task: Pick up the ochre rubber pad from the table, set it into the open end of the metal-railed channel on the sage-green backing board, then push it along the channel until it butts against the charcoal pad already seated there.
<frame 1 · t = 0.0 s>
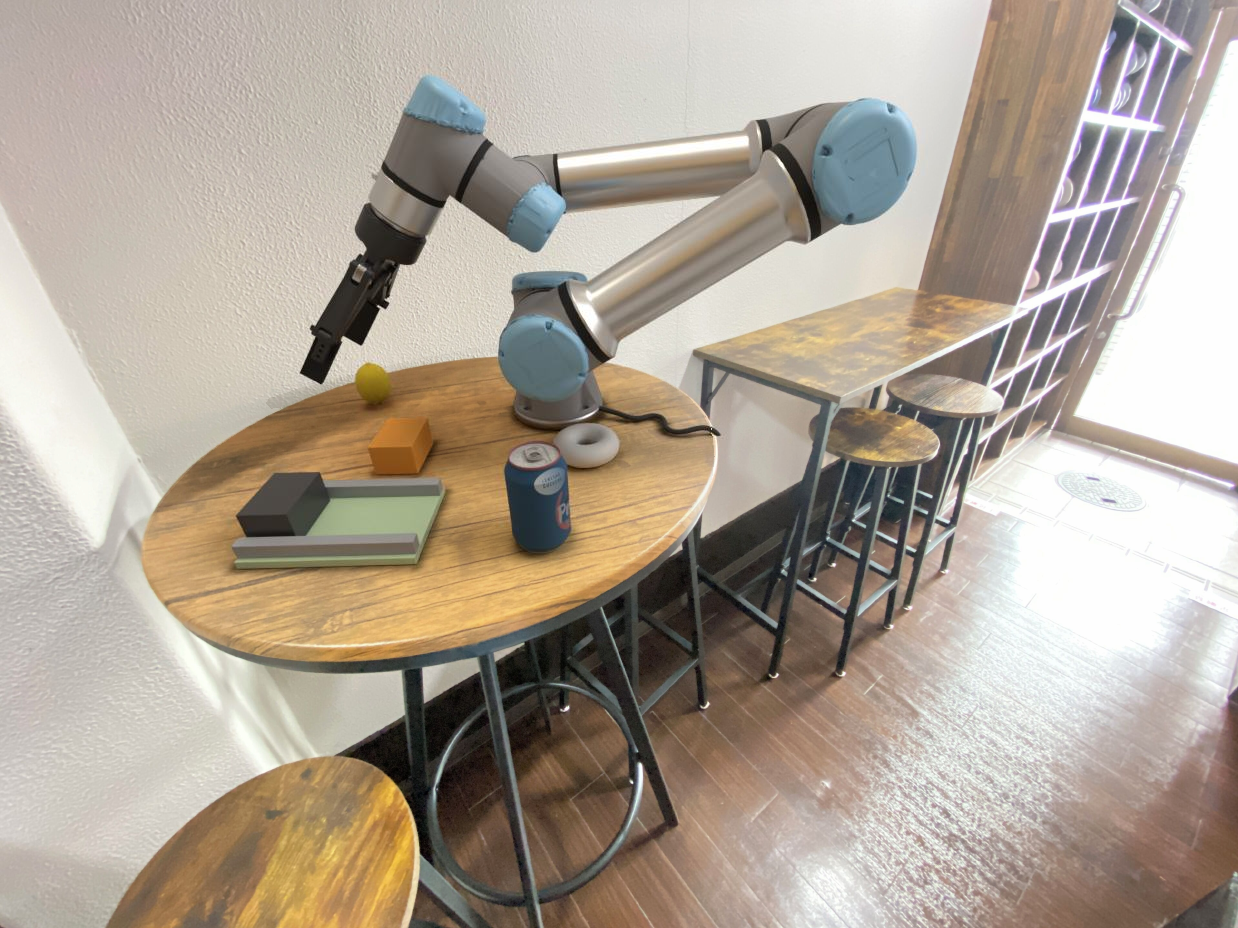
hand: (333, 357, 73), 15 cm above the table, tool tilted 35°, fingers open, 13 cm apart
ochre pad: (405, 457, 80), on the table
soda can: (543, 539, 64), on the table
donut: (586, 455, 81), on the table
backing board: (351, 526, 66), on the table
lemon: (379, 406, 95), on the table
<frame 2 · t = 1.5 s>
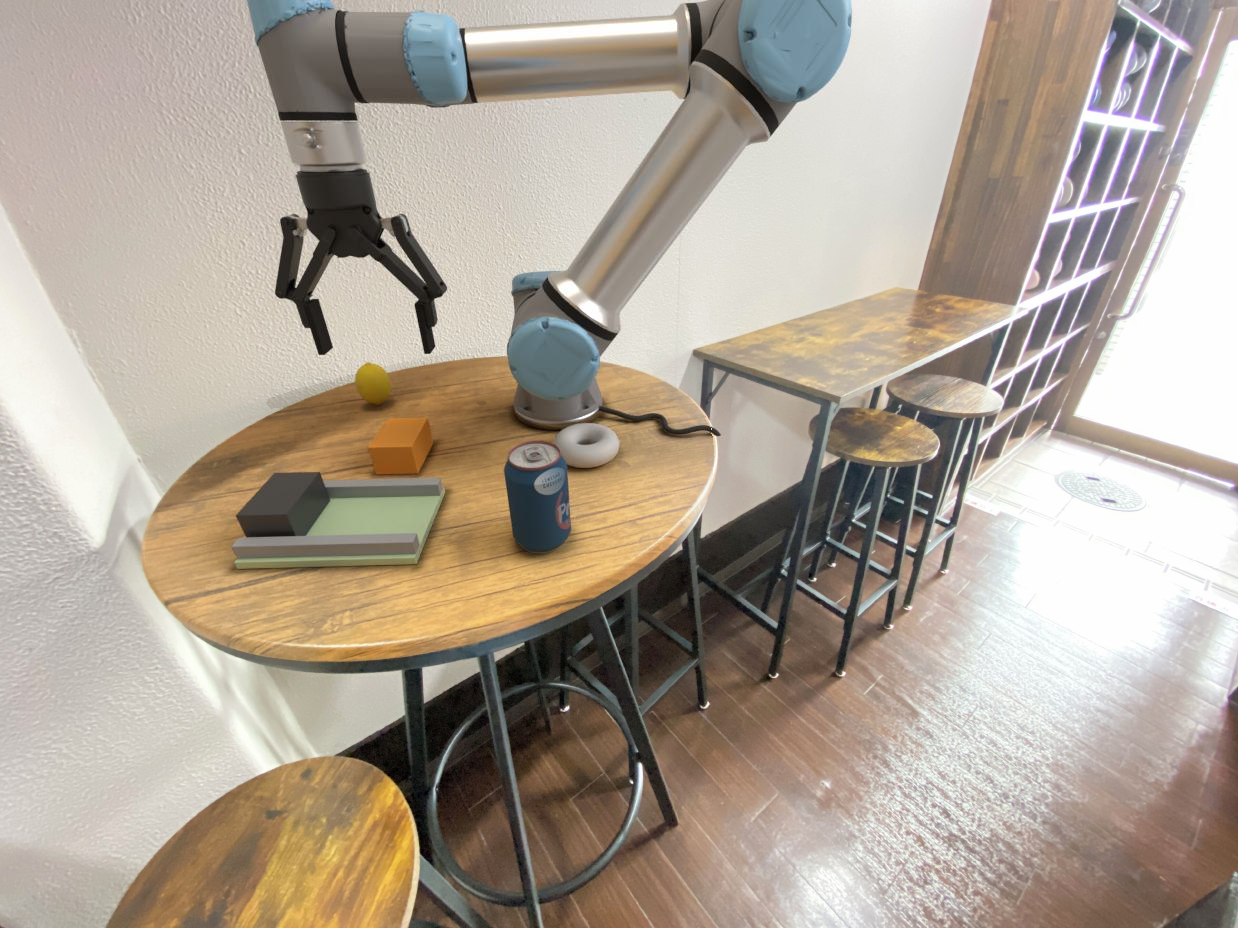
hand: (378, 351, 71), 17 cm above the table, tool pointing down, fingers open, 13 cm apart
nothing on the table moved.
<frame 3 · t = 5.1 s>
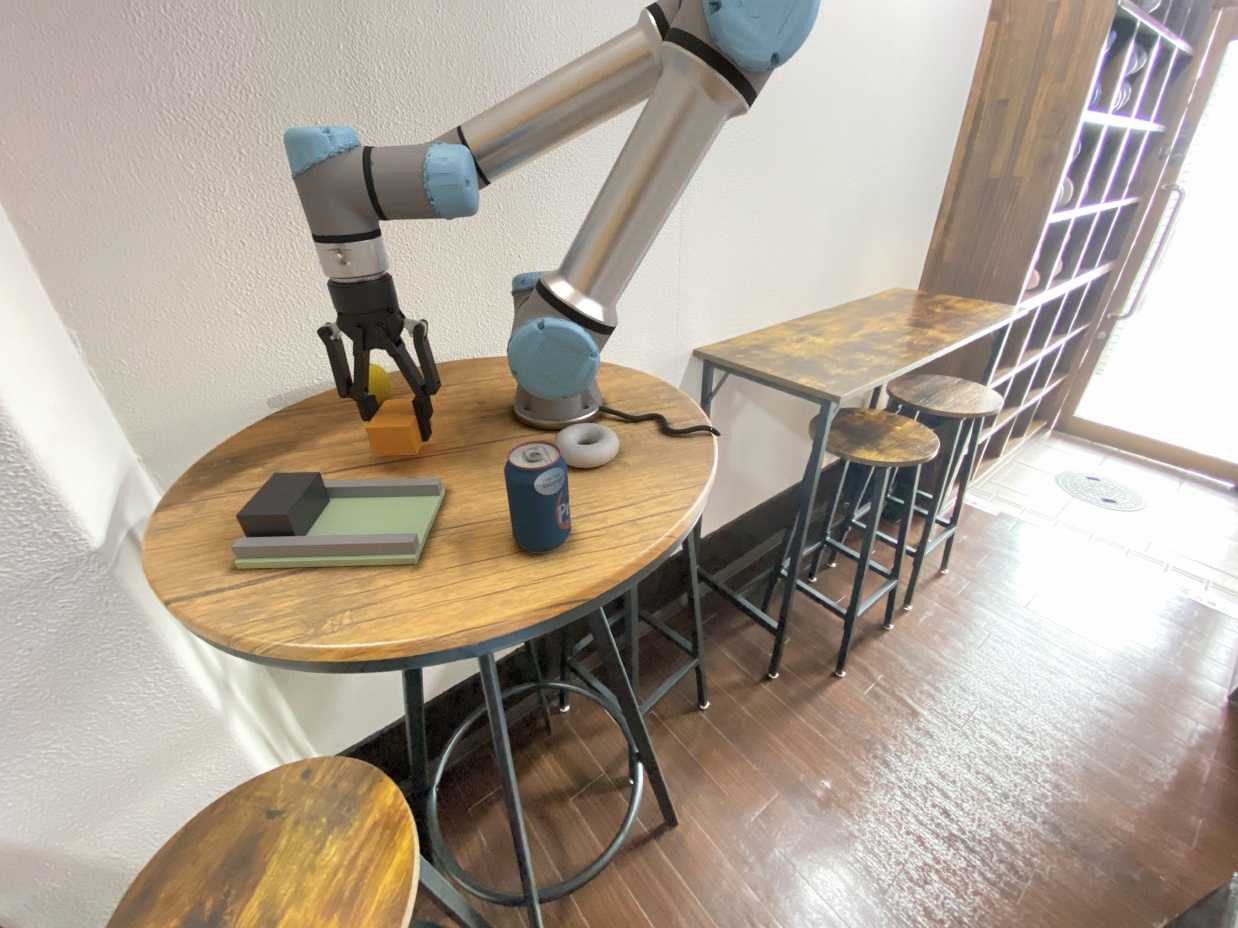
hand: (404, 437, 78), 3 cm above the table, tool pointing down, fingers closed on ochre pad, 6 cm apart
ochre pad: (404, 439, 78), point 3 cm above the table, touching gripper
everything else where it was.
when the fingers open (1 cm above the table, at t = 9.5 s): ochre pad stays where it is, resting on backing board.
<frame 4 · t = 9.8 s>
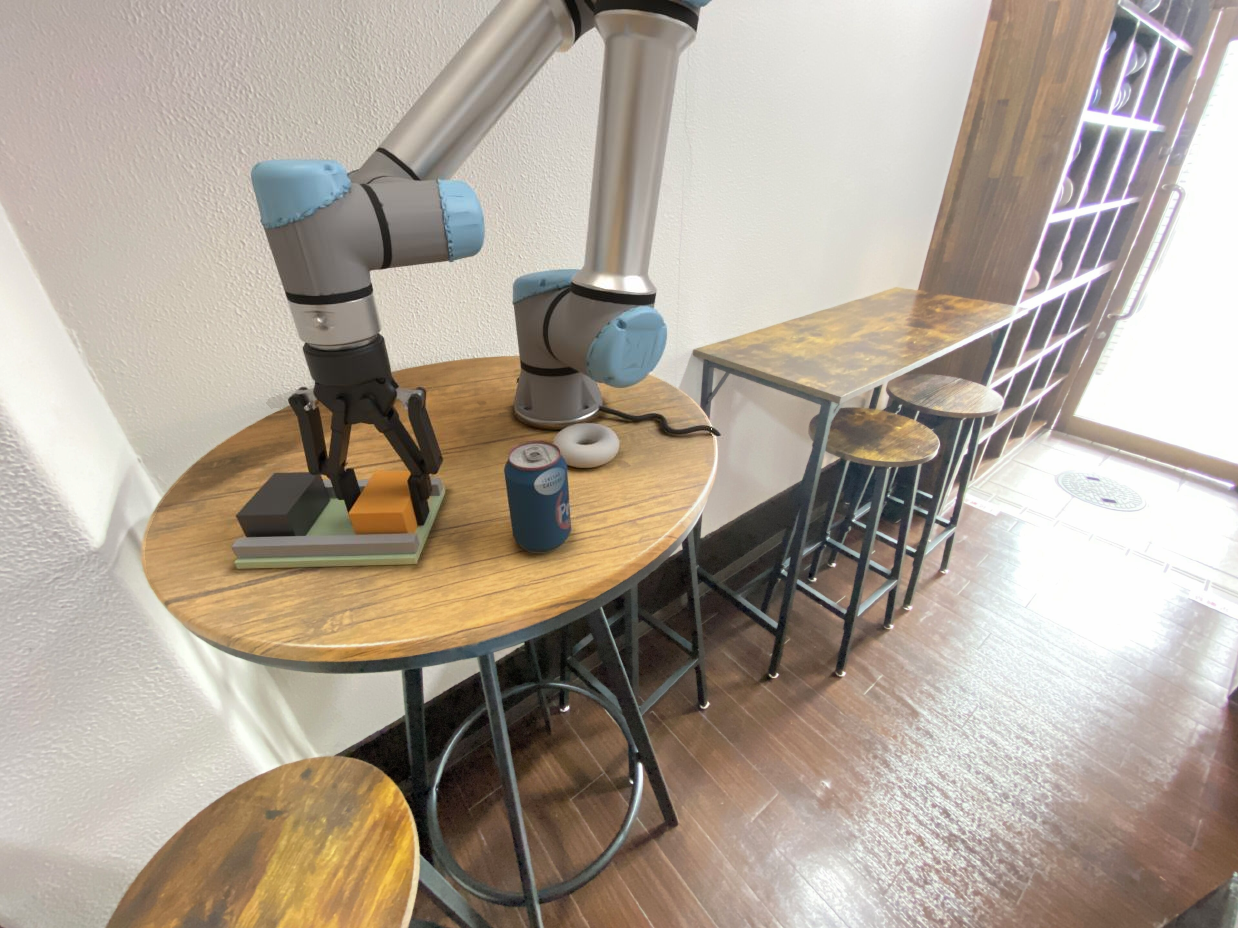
hand: (391, 518, 66), 1 cm above the table, tool pointing down, fingers open, 7 cm apart
ochre pad: (396, 520, 66), point 1 cm above the table, touching backing board
everything else where it was.
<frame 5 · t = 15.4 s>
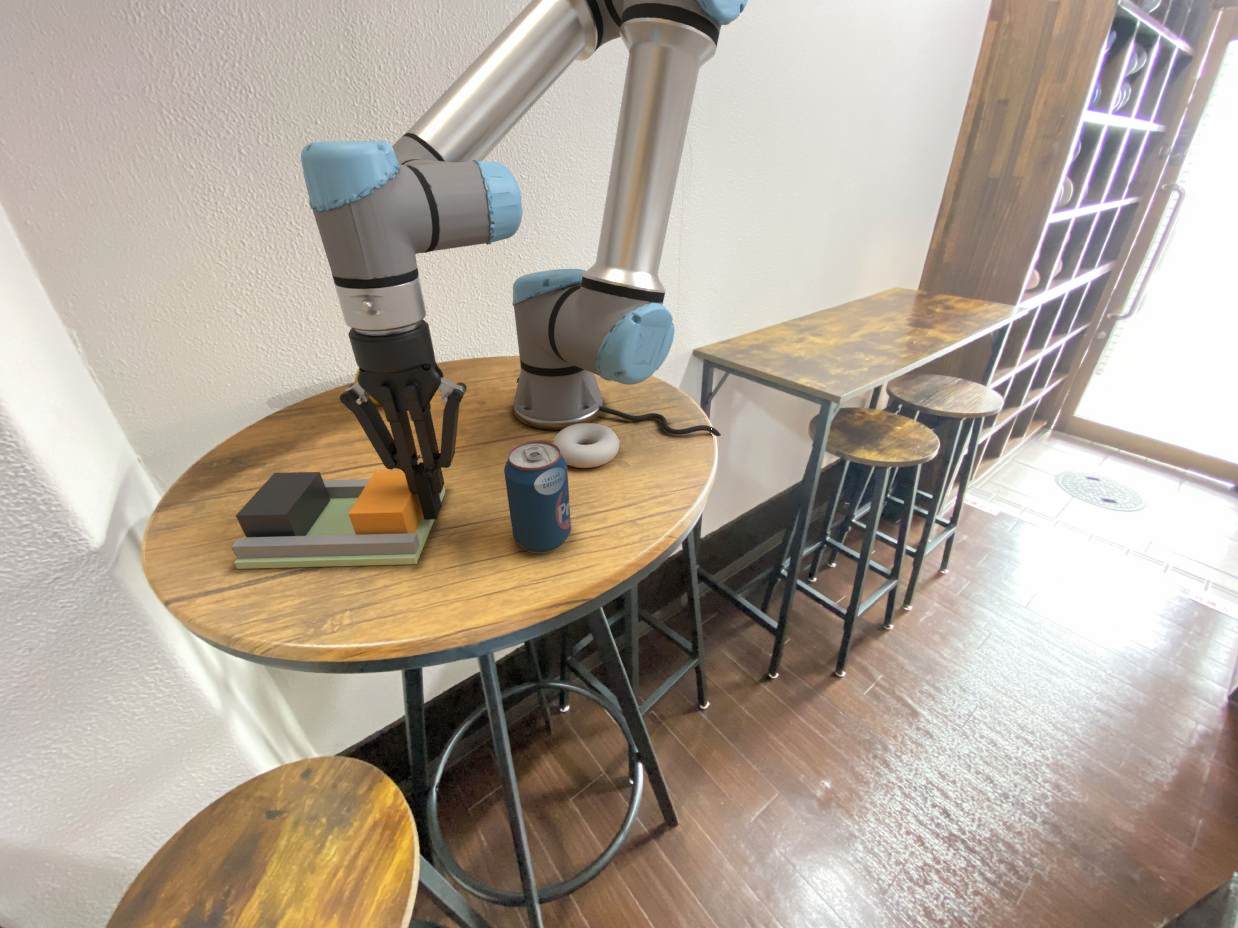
hand: (433, 512, 65), 2 cm above the table, tool pointing down, fingers closed
ochre pad: (396, 520, 66), point 1 cm above the table, touching backing board, gripper
everything else where it was.
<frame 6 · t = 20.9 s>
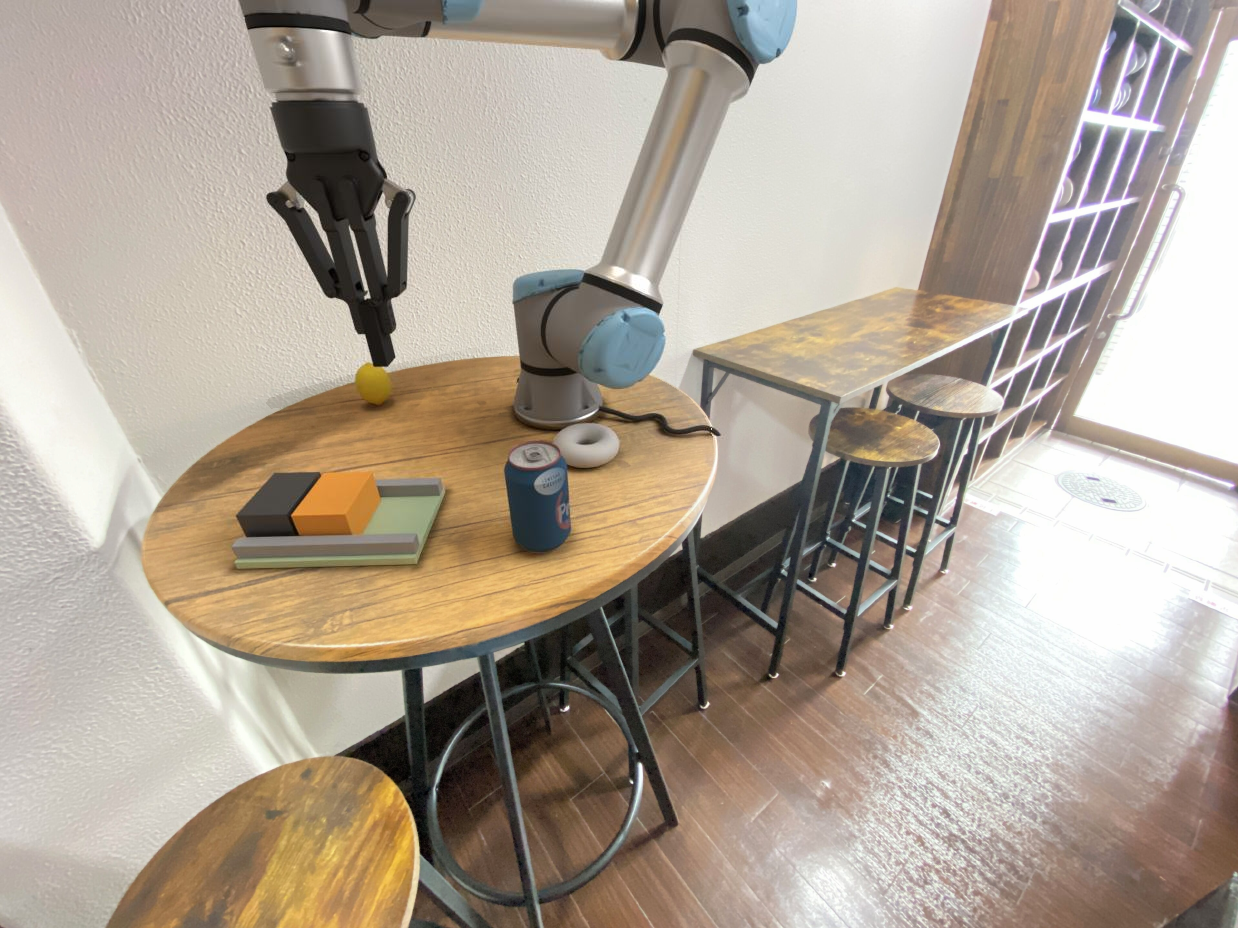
hand: (384, 361, 58), 20 cm above the table, tool pointing down, fingers closed
ochre pad: (344, 521, 65), point 1 cm above the table, touching backing board
everything else where it was.
at the end: ochre pad 0.5 cm off-centre on the backing board, point 1.0 cm above the backing board's base; ochre pad tilted 0°; the gripper is holding nothing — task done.
